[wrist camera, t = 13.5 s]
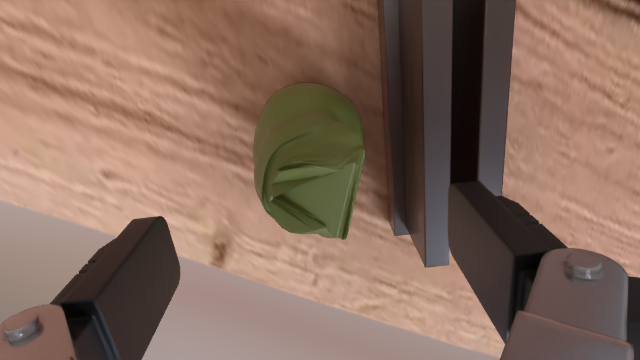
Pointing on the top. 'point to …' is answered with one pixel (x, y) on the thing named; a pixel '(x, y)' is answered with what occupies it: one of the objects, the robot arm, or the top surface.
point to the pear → (309, 159)
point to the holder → (442, 108)
